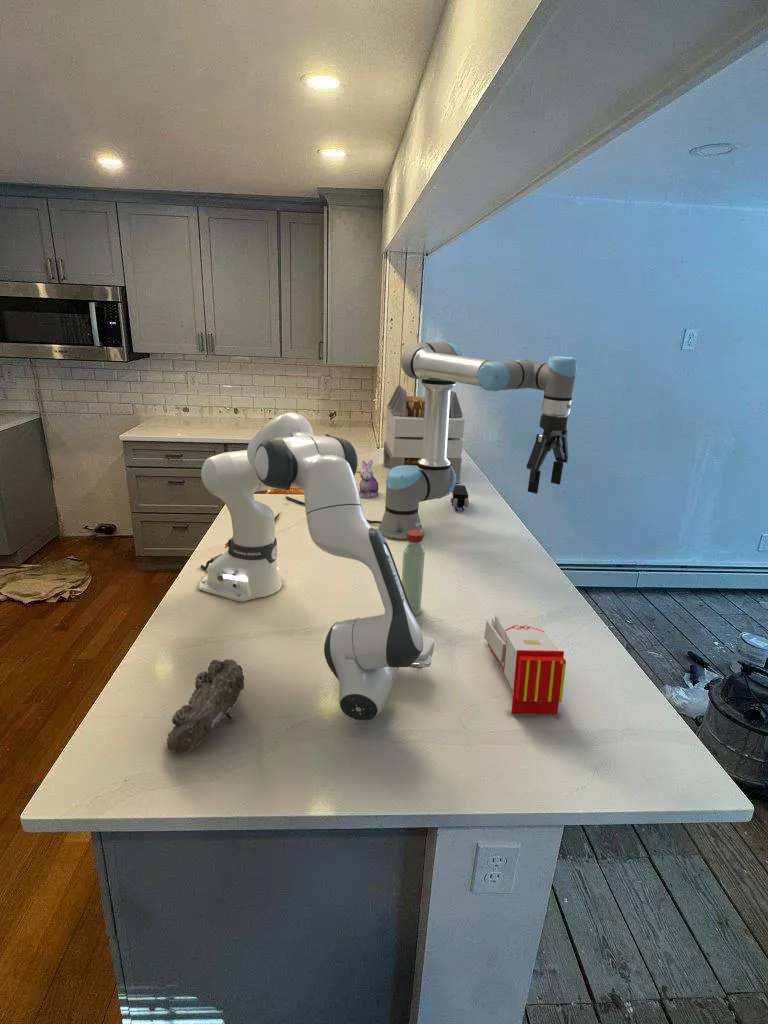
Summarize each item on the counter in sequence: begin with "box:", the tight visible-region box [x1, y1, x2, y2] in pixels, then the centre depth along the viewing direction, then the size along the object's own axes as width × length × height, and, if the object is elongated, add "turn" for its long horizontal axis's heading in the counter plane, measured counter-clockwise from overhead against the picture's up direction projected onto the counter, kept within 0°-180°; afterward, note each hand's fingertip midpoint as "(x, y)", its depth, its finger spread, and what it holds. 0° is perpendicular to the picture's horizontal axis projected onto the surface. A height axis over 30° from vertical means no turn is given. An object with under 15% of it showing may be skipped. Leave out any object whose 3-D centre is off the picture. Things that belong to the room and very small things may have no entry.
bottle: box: [401, 541, 426, 616], centre depth 146 cm, size 5×5×22 cm
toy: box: [484, 614, 567, 716], centre depth 124 cm, size 12×13×30 cm
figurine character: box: [449, 484, 470, 512], centre depth 229 cm, size 7×8×15 cm
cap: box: [406, 530, 424, 543], centre depth 142 cm, size 4×4×2 cm
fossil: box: [166, 658, 245, 754], centre depth 106 cm, size 22×10×15 cm
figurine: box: [359, 459, 380, 499], centre depth 237 cm, size 9×10×15 cm
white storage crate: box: [383, 384, 465, 484], centre depth 268 cm, size 34×33×41 cm
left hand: (394, 625), depth 130 cm, fingers open, 8 cm apart
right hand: (544, 487), depth 164 cm, fingers open, 13 cm apart
